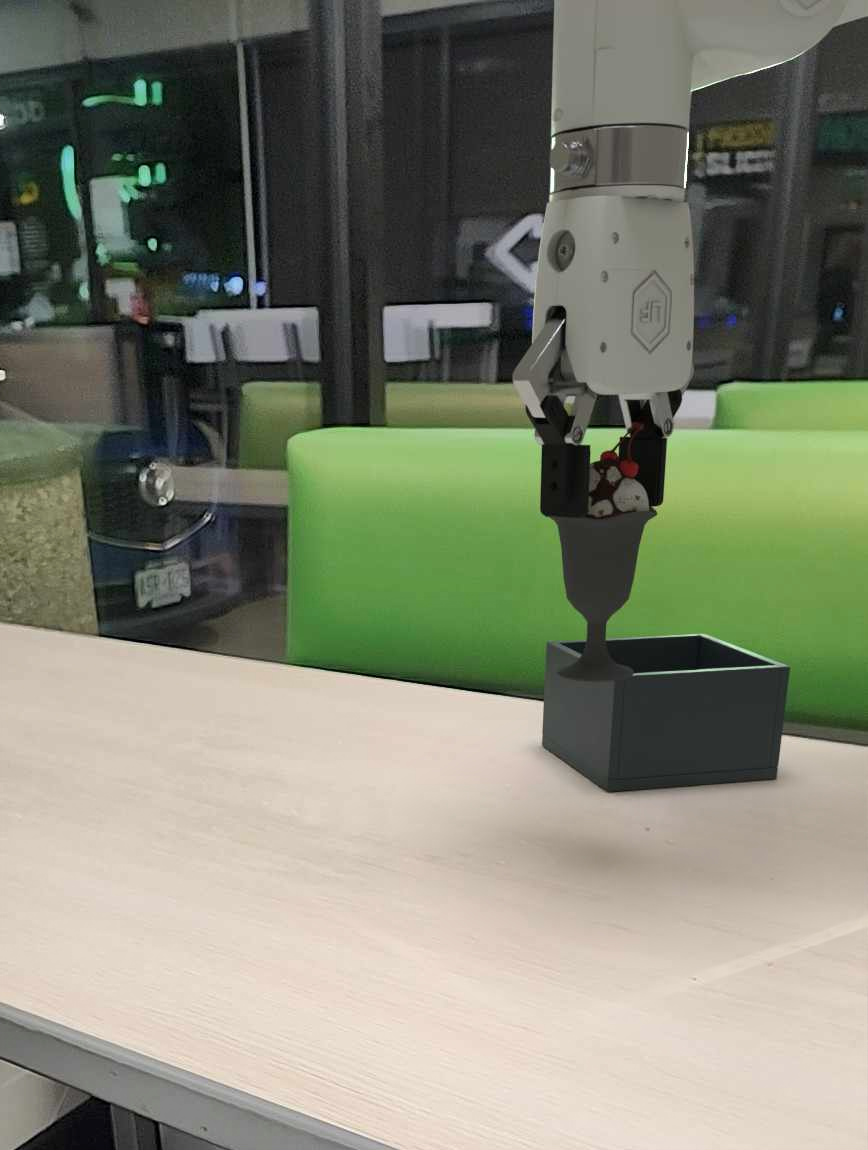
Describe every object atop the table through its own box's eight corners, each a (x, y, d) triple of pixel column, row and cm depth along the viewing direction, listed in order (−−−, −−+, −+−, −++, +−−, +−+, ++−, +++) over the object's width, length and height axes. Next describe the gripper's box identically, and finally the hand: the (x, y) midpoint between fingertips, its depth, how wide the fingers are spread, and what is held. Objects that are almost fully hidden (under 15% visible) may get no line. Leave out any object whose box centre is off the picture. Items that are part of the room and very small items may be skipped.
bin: (694, 734, 119) (704, 633, 116) (776, 779, 106) (790, 666, 103) (541, 745, 116) (546, 641, 112) (607, 792, 103) (615, 676, 99)
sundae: (669, 674, 85) (686, 421, 78) (591, 690, 81) (602, 426, 75) (598, 658, 90) (609, 419, 83) (522, 672, 86) (527, 424, 80)
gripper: (572, 154, 66) (560, 528, 73) (760, 177, 77) (733, 501, 84) (462, 171, 71) (461, 520, 78) (653, 190, 82) (636, 495, 89)
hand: (602, 508), depth 81 cm, fingers closed on sundae, 6 cm apart
